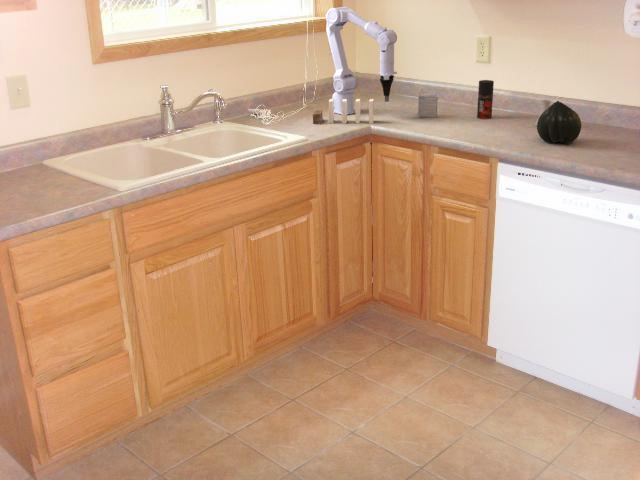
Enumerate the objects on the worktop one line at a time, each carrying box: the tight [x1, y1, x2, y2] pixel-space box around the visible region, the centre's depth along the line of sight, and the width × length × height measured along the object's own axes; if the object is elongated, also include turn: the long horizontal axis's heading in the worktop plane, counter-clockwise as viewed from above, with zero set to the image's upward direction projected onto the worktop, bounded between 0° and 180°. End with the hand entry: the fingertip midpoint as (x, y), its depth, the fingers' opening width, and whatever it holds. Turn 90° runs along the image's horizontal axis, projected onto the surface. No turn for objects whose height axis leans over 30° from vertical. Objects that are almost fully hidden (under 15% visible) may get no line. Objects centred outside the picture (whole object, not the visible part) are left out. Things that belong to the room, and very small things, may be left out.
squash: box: [536, 100, 582, 145], centre depth 267 cm, size 14×15×15 cm
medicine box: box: [417, 94, 439, 118], centre depth 311 cm, size 8×4×9 cm, turn 84°
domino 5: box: [384, 95, 390, 103], centre depth 307 cm, size 2×5×9 cm, turn 173°
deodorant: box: [476, 79, 495, 120], centre depth 305 cm, size 6×6×15 cm
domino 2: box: [341, 99, 348, 124], centre depth 306 cm, size 2×5×9 cm, turn 173°
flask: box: [534, 99, 552, 128], centre depth 290 cm, size 7×7×10 cm
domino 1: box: [328, 98, 335, 124], centre depth 306 cm, size 2×5×9 cm, turn 173°
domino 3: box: [354, 98, 361, 124], centre depth 305 cm, size 2×5×9 cm, turn 173°
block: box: [312, 109, 324, 125], centre depth 308 cm, size 3×8×4 cm, turn 173°
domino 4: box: [368, 98, 375, 124], centre depth 304 cm, size 2×5×9 cm, turn 173°
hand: (386, 94), depth 308 cm, fingers closed on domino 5, 5 cm apart
